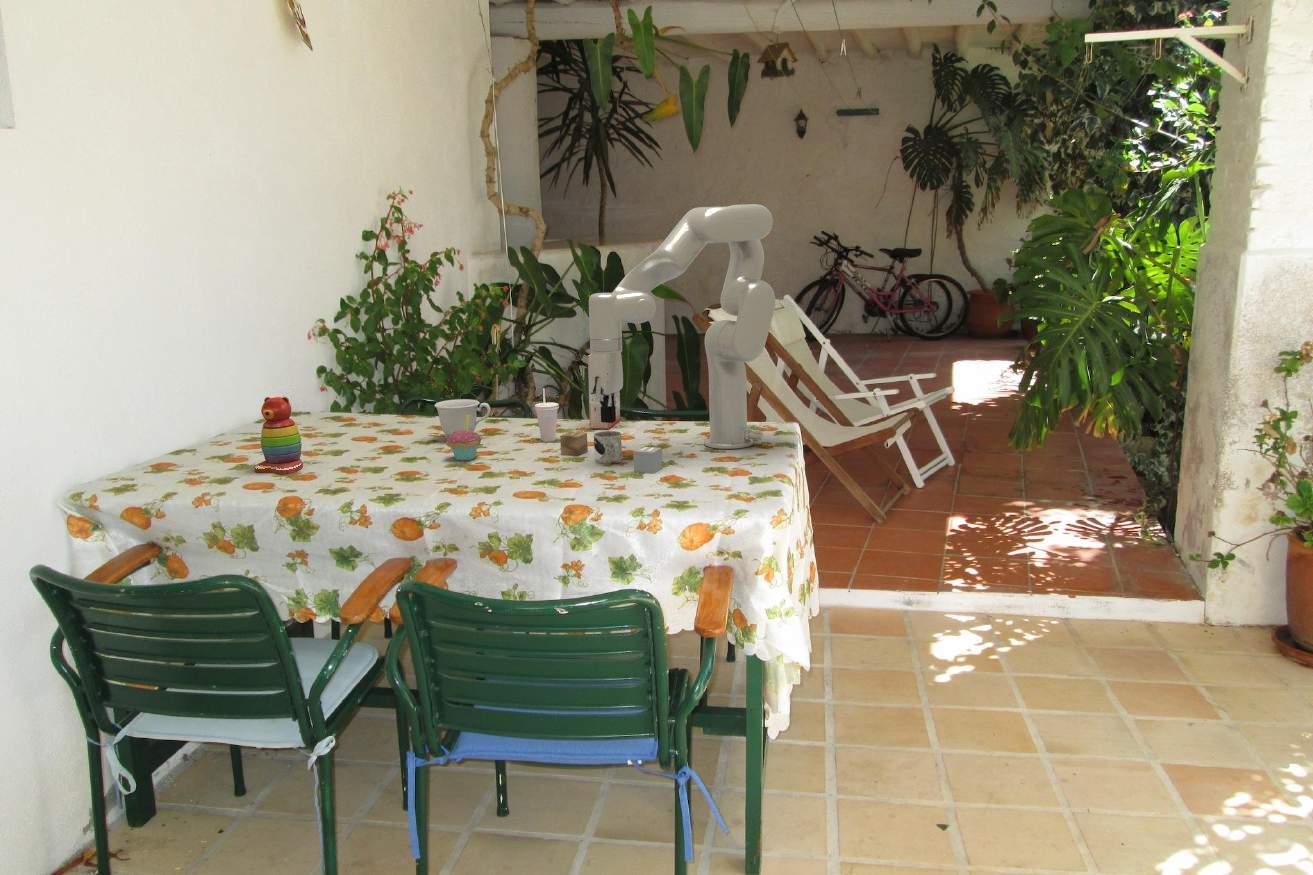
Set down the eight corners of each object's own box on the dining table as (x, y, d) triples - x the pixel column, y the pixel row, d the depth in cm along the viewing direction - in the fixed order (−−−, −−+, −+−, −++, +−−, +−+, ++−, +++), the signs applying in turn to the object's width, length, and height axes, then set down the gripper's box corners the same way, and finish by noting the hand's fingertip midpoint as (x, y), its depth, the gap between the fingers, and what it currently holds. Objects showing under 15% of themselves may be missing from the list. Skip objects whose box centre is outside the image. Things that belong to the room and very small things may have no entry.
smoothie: (536, 438, 283) (533, 387, 281) (560, 437, 284) (558, 386, 281) (536, 443, 277) (533, 390, 274) (560, 442, 278) (557, 389, 275)
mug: (590, 459, 257) (589, 433, 256) (616, 456, 260) (615, 430, 258) (605, 468, 248) (604, 440, 247) (631, 464, 251) (630, 437, 249)
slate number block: (662, 468, 246) (661, 447, 245) (653, 473, 242) (653, 451, 241) (642, 467, 248) (642, 445, 247) (634, 472, 244) (633, 450, 243)
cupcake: (488, 456, 264) (485, 409, 262) (469, 463, 256) (466, 415, 254) (460, 453, 268) (457, 407, 265) (440, 461, 260) (436, 413, 258)
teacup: (488, 443, 279) (485, 406, 277) (432, 444, 279) (429, 407, 277) (496, 433, 291) (493, 398, 289) (442, 435, 291) (439, 399, 289)
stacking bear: (250, 472, 254) (242, 400, 250) (278, 462, 264) (271, 392, 260) (287, 475, 251) (279, 401, 247) (314, 465, 260) (307, 394, 256)
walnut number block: (587, 452, 266) (587, 432, 265) (578, 456, 261) (577, 436, 260) (570, 450, 268) (569, 431, 267) (561, 455, 263) (560, 435, 262)
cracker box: (610, 429, 292) (607, 355, 287) (589, 429, 293) (586, 355, 288) (622, 420, 305) (619, 348, 301) (601, 419, 306) (599, 348, 302)
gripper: (605, 341, 256) (607, 415, 260) (577, 349, 243) (580, 427, 247) (633, 342, 253) (635, 417, 257) (606, 350, 240) (609, 428, 244)
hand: (608, 421), depth 252 cm, fingers closed
